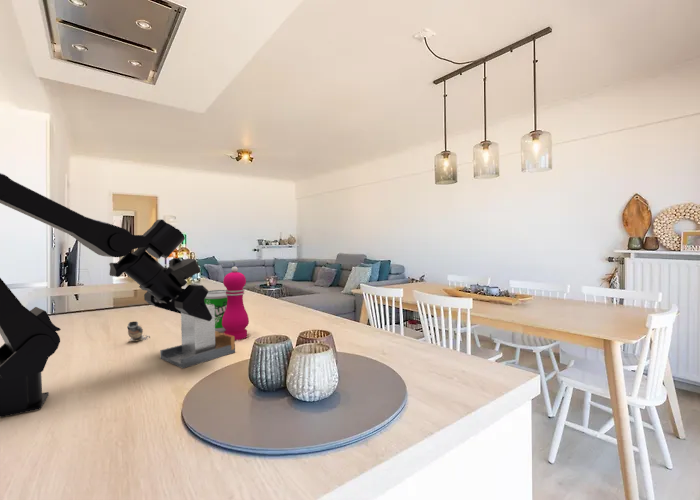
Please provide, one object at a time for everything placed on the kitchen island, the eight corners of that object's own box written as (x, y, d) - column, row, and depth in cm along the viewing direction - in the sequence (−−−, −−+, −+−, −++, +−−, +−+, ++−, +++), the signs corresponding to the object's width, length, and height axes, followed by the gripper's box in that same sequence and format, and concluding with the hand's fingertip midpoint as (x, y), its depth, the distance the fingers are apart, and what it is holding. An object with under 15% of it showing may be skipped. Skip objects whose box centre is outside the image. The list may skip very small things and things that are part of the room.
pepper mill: (216, 338, 96) (215, 267, 96) (236, 332, 103) (234, 265, 102) (235, 342, 93) (234, 267, 92) (254, 335, 99) (253, 265, 99)
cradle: (182, 368, 74) (182, 349, 74) (160, 358, 80) (160, 341, 80) (235, 352, 85) (234, 336, 85) (211, 344, 91) (211, 329, 91)
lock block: (195, 357, 79) (194, 308, 78) (181, 352, 82) (180, 305, 82) (215, 351, 83) (214, 304, 82) (201, 347, 86) (200, 302, 86)
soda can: (203, 329, 107) (203, 290, 106) (229, 326, 110) (229, 288, 109) (205, 335, 100) (204, 293, 99) (232, 332, 103) (231, 292, 103)
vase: (143, 344, 92) (140, 322, 91) (120, 347, 91) (118, 324, 91) (151, 338, 97) (148, 317, 97) (130, 340, 96) (127, 319, 96)
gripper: (198, 247, 72) (244, 293, 82) (157, 246, 84) (201, 287, 93) (160, 289, 66) (213, 334, 75) (120, 282, 77) (171, 322, 87)
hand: (200, 316), depth 83 cm, fingers open, 9 cm apart
